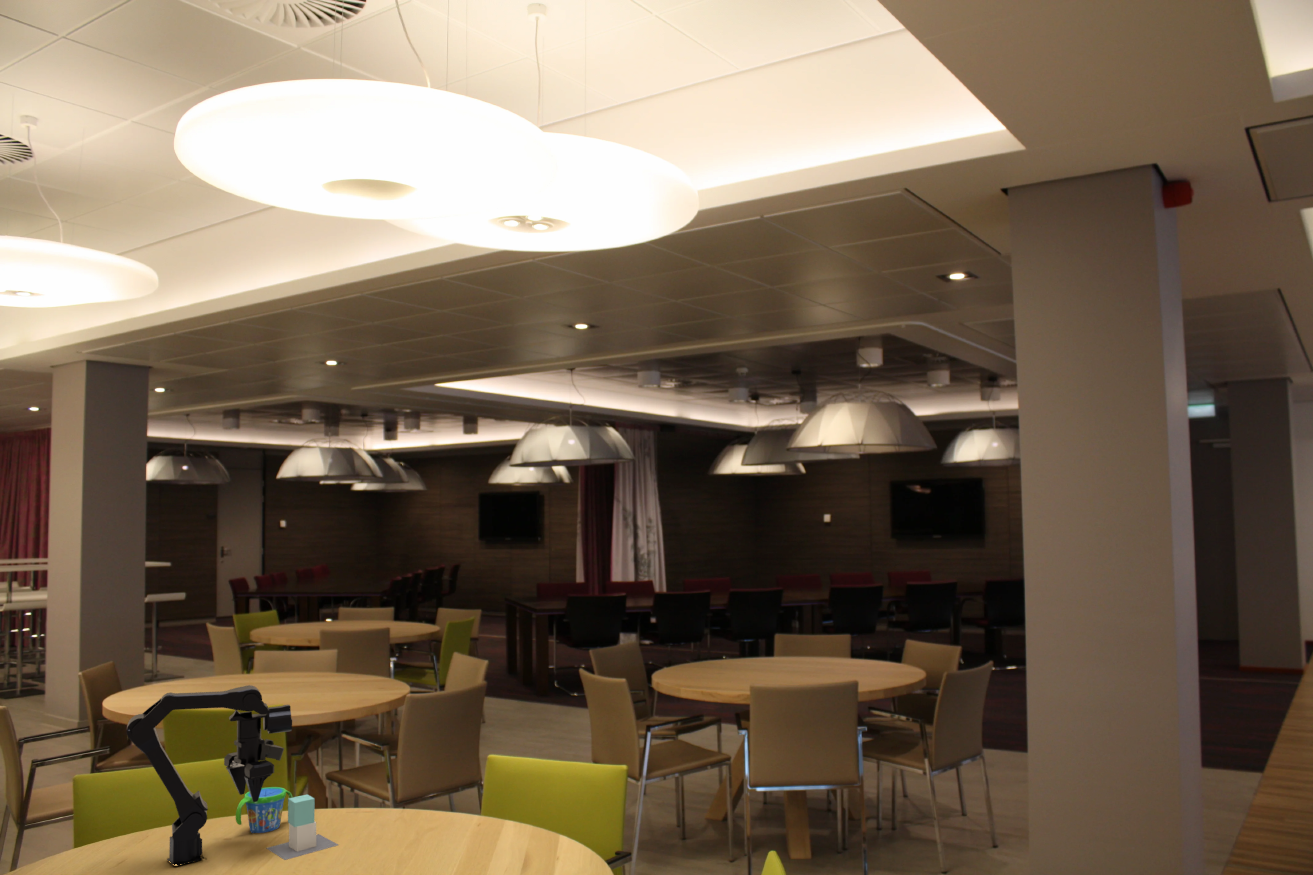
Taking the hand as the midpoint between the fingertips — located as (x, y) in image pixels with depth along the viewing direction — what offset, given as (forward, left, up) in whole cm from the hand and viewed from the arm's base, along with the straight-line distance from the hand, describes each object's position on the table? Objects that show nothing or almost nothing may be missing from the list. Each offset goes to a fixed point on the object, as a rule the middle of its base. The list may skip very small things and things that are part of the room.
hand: (248, 797), depth 242 cm
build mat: (+10, -10, -13) cm, 19 cm away
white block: (+10, -10, -12) cm, 19 cm away
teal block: (+10, -10, -6) cm, 15 cm away
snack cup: (+9, +12, -13) cm, 20 cm away
